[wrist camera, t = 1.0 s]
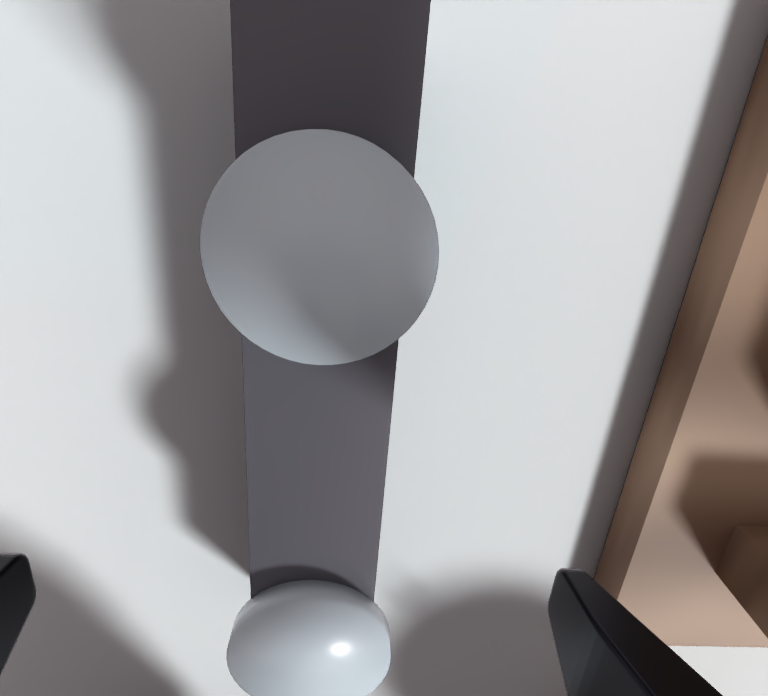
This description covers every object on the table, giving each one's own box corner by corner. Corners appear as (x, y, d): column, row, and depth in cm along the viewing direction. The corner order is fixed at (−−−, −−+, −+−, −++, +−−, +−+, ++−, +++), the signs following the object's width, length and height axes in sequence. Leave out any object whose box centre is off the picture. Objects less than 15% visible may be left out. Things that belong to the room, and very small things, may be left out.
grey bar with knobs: (374, 602, 19) (378, 758, 14) (265, 599, 19) (232, 757, 14) (428, 43, 12) (471, -13, 7) (254, 27, 12) (180, -43, 7)
